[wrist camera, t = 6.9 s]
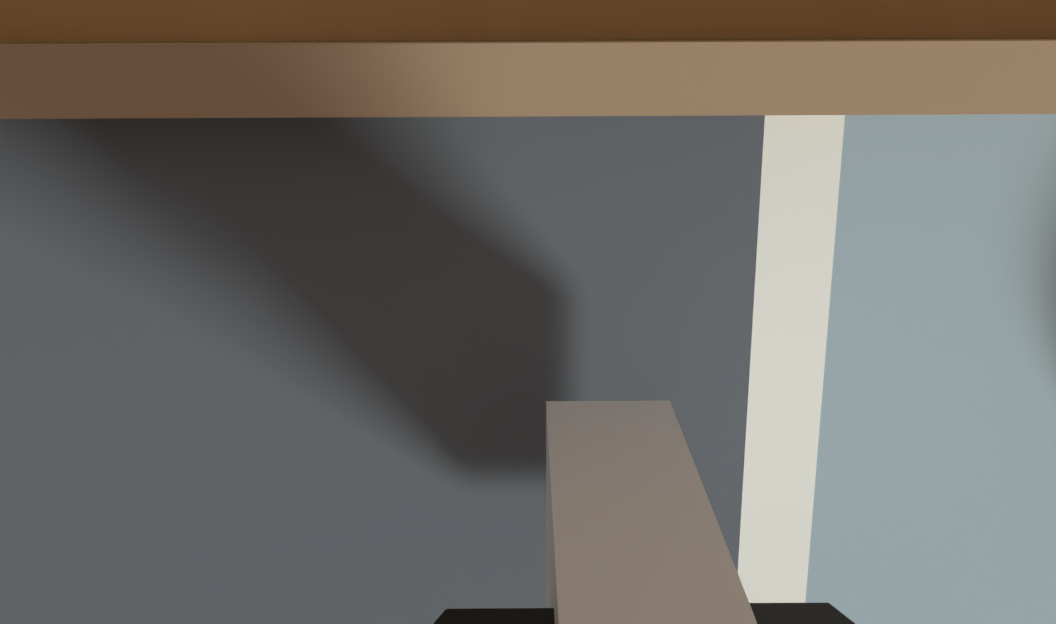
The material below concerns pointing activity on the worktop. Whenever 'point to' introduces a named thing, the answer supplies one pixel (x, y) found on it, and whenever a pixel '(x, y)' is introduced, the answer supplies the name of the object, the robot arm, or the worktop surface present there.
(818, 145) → the lane
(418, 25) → the worktop surface
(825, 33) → the worktop surface
